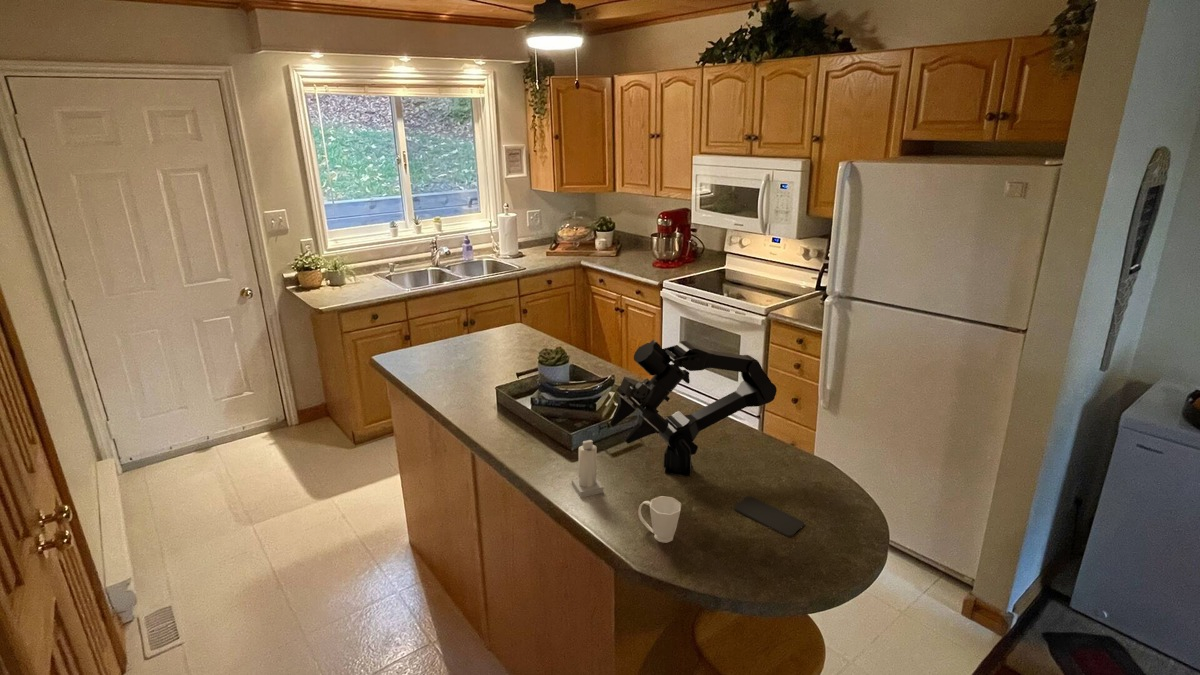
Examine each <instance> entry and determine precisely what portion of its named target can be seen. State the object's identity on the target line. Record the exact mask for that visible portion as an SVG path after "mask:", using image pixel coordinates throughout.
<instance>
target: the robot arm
mask: <svg viewBox="0 0 1200 675" xmlns="http://www.w3.org/2000/svg"><path fill="white" fill-rule="evenodd" d="M633 361H634V362H635V363H636V364H637V365H638V366H640V368H642V369H643V370H644V371H645V372H646V373H648V375H649V376H652V377H651V378H650V379H649V378H645V379H643V381H639V380H636V379H634V378H630V377H628V376H624V377H623V379H622V380H621V383H620V385H619V386H618V387H617V388H616V391H617V392H618V393H616V397H617V406H616V409H615V411H614V414H613V416H612V418H611V420H610V421H609V425H610V426H611V427H613V428H614V427H615V426H616V425H618V424H619V423H621V422H622V421H623V420H625V419H626V418H627V417H629V416H630V415H632V414H633V413H634V412H635V411H636V410H637V409H635V408H638V409H639V411H640V412H642V415H640V414H638V419H637V420H638V422H637V424H636V425H635V426H634V427H633V429H632V430H631V431H630V432H629V434H628V435H627V437H626V438H625V440H624V441H625V442H626V444H630V443H633V442H635V441H638V440H640V439H642V438H645V437H647V436H651V435H654V434H658V435H659V437H660V438H661V439H662V440H663V442H664V443H666V444H667V447H666V448H665V449H664V454H663V468H664V473H665V474H666V475H667V474H668V475H675V476H683V477H690V476H691V473H692V467H693V466H692V465H693V463H692V457H693V455H695V454H696V453H697V451H698V449H699V447H698V444H696V443H695V442H694V441H695V439H696V438H697V435H698V434H699V433H700V432H701V431H703V430H705V429H707V428H709V427H711V426H713V425H715V424H717V423H718V422H721V421H723V420H725V419H726V418H728V417H730V416H732V415H734V414H736V413H738V412H740V411H742V410H744V409H745V408H752V407H756V408H757V407H761V406H765V405H767V404H770V403H771V402H773V401H775V397H776V395H777V387H776V384H774V383H773V382H772V380H771V379H770V378H769V376H768V375H767V374H766V372H765V370H763V368H762V366H761V365H762V364H761V363H760V361H759V360H758V359H756V358H754V357H752V356H751V355H748V354H738V353H732V352H731V353H730V352H723V351H716V350H712V349H711V350H710V349H707V348H704V347H702V346H700V345H697V344H695V343H693V342H690V341H687V340H681V341H679V342H678V343H677V344H676V345H675V344H674V345H671V346H667V347H664V348H662V347H661V344H659V343H658V341H656V340H655V339H652V340H651V341H650V342H646V343H644V344H642V345H641V346H638V348H637V349H636V351H635V352H634V354H633ZM671 363H672V364H671ZM682 368H684V369H682ZM706 369H714V370H715V369H716V370H724V371H731V372H736V373H737V372H738V373H740V375H741V378H742V380H743V381H741V382H740V383H739V385H738V387H737V388H736V390H735V391H733V392H731V393H728V394H727V395H725V396H723V397H721V398H718V399H717V400H715V401H713V402H711V403H709V404H707V405H705V406H704V407H703V406H702V408H700V409H698V410H696V411H694V412H692V413H690V414H684V413H682V412H681V411H680V410H677V411H676V412H674V413H672V414H670V415H667V416H665V417H663V416H662V415H661V414H660V413H659V412H660V411H659V410H658V407H659V406H660V405H661V404H662V403H663V402H664V401H665V402H669V401H670V399H671V398H670V397H669V395H670V393H672V392H673V391H674V389H675V388H676V387H677V386H678V385H679V384H680V383H681V382H682V381H683V382H685V383H686V384H688V385H689V384H690V382H691V381H690V372H698V371H704V370H706Z"/></svg>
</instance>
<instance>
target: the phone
mask: <svg viewBox="0 0 1200 675" xmlns="http://www.w3.org/2000/svg"><path fill="white" fill-rule="evenodd" d="M733 510H734V512H737V513H738V512H739V513H738V514H741V515H742V514H743V515H742V516H745V517H747V518H749V519H750V520H752V521H754V522H756V523H758V522H759V523H758V524H760V525H762V524H763V525H762V526H764V525H765V526H764V527H766V526H767V527H766V528H768V527H770V528H772V529H774V530H775V531H774V530H773V531H774V532H776V531H777V532H776V533H778V532H780V533H781V534H780V533H779V534H780V535H782V534H783V535H782V536H784V535H785V537H787V536H792V537H793V535H794V534H795V533H796V532H797V531H798V530H799V529H800V528H801V527H803V525H804V523H805V522H804V521H803V520H801V519H800V518H797V517H795V516H793V515H791V514H789V513H787V512H785V511H783V510H780V509H779V508H777V507H775V506H772V505H770V504H769V503H766V502H764V501H762V500H761V499H758V498H756V497H754V496H750V495H749V496H745V498H743V499H741V500H740V501H739V502H737V503H736V504H735V505H734V506H733ZM804 526H805V525H804ZM770 528H769V529H770ZM803 528H804V527H803ZM772 529H771V530H772ZM800 530H801V529H800ZM800 530H799V531H800ZM799 531H798V532H799ZM798 532H797V533H798ZM797 533H796V534H797ZM796 534H795V535H796Z"/></svg>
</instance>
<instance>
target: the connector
mask: <svg viewBox="0 0 1200 675" xmlns="http://www.w3.org/2000/svg"><path fill="white" fill-rule="evenodd" d="M593 442H594V441H593V440H592V439H587V440H583V441H582V445H580V446H579V447H578V477H577V478H572V479H571V486H572V487H573V489H574V490H575V492H576V493H578V494H577V495H578V497H579V496H580V497H579V498H585V497H588V496H589V497H590V496H595V495H598V494H603V493H604V486H603V484H602V483H601V481H600V480H599V479H598V477H597V458H598V457H597V453H598V452H597V451H598V450H597V448H598V447H597V445H594V444H593Z"/></svg>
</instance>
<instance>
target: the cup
mask: <svg viewBox="0 0 1200 675" xmlns="http://www.w3.org/2000/svg"><path fill="white" fill-rule="evenodd" d="M643 505H646V506H649V512H650V520H651V526H652V527H651V526H650V525H649V524H648V522H647V521H646V520H645V518H644V517H643V515H642V507H643ZM681 509H682V502H680V501H679V500H677V499H676V498H675V497H673V496H664V495H660V496H656V497H655V498H652V499H650V501H649V500H644V501H643V502H641V504H639V507H638V509H637V513H638V514H637V515H638V518H639V520H640V522H641V523H642V524H643V526H645V527H646V529H647V530H648V531H650V532H651V533H652V534H654V536H653V538H654V539H655V540H656V541H658V542H659V543H664V544H665V543H666V544H667V543H671V542H673V540H674V535H675V533H676V531H677V527H678V523H679V518H680V515H681V514H680V513H681V511H682V510H681Z"/></svg>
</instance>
